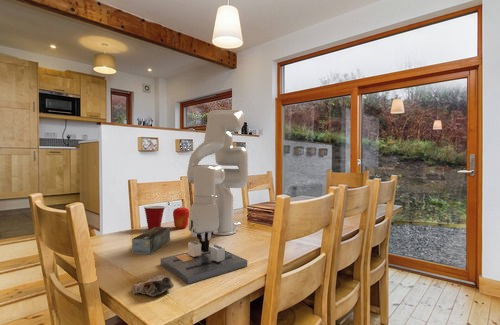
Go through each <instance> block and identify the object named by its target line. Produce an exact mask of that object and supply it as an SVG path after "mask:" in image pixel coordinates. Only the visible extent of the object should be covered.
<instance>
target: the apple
mask: <svg viewBox="0 0 500 325" xmlns="http://www.w3.org/2000/svg"><path fill="white" fill-rule="evenodd" d="M172 215H173V216H172V217H173V222H174V227H175V228H176V229H178V230H180V229H186V227H187V226H189V218H190V210H189V208H187V207H182V206H180V207H177V208H175V209H173V212H172Z"/></svg>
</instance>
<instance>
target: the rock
mask: <svg viewBox="0 0 500 325" xmlns="http://www.w3.org/2000/svg"><path fill="white" fill-rule="evenodd" d="M173 287H175V285H174V283H173V281H172V279H171V277H170V276H167V275H166V276H165V275H163V274H159V275H155V276H153V277H151V278H149V279H146V280H143V281H140V282H139V283H133V285H132V286H131V291H132V294H133V295H138V294H142V295H148V296H151V297H155V296H159V295H161V294H163V293H166V292H167V291H169V290H171V289H173Z"/></svg>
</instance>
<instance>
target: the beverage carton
mask: <svg viewBox="0 0 500 325" xmlns="http://www.w3.org/2000/svg"><path fill="white" fill-rule="evenodd" d="M169 241H171V227H170V226H167V227H166V226H161V227H154V228H152V229H150V230H149V229H148V230H146V231H144V232H143V233H140V234H139V235H138V236H136V237H133V238H132V239H131V250H132V251H131V252H132V254H137V255H139V254H140V255H152V254H153V253H154V252H156V251H157V250H159V249H160V248H161V247H162V246H164V245H165V244H167V243H168V242H169Z"/></svg>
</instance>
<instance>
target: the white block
mask: <svg viewBox="0 0 500 325" xmlns="http://www.w3.org/2000/svg"><path fill="white" fill-rule="evenodd" d="M210 247H211V259H213V260H215V261H216V262H218V261H222V260H225V251H226V248H225V247H223V246H222V245H219V244H213V245H212V246H210Z"/></svg>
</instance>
